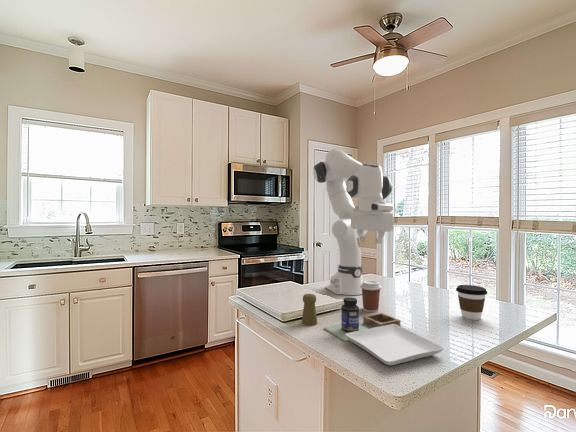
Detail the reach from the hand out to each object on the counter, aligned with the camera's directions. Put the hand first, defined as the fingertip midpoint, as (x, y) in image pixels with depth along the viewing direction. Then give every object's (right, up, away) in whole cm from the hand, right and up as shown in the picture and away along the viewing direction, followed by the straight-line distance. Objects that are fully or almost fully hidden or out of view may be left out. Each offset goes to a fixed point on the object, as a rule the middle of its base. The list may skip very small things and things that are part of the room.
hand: (370, 242), depth 119 cm
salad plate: (+1, -32, -23) cm, 39 cm away
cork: (-23, -31, 0) cm, 39 cm away
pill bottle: (-9, -31, -9) cm, 33 cm away
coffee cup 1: (+5, -31, +16) cm, 35 cm away
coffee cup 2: (+42, -31, +6) cm, 53 cm away
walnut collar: (+4, -31, -2) cm, 31 cm away
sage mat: (-10, -31, -9) cm, 34 cm away
